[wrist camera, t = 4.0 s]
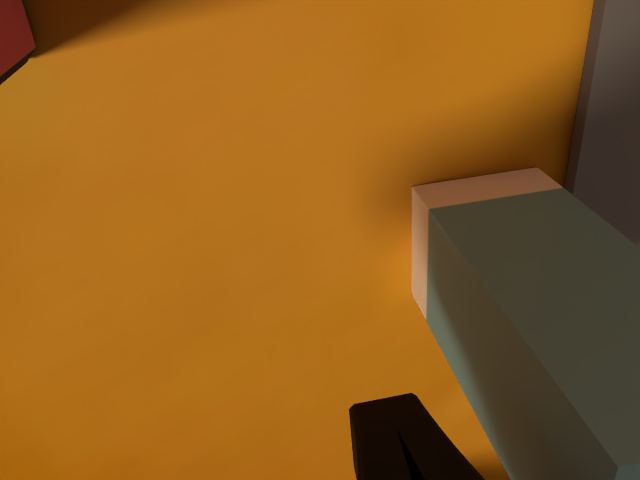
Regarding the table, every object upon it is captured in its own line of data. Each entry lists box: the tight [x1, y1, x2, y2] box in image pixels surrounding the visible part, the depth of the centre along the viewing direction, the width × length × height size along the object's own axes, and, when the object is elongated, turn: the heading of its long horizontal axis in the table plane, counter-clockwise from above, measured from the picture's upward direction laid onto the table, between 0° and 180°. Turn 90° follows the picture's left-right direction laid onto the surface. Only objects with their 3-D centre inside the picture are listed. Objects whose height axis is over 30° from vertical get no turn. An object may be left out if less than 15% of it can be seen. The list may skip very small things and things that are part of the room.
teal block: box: [412, 167, 640, 480], centre depth 14 cm, size 4×4×10 cm
